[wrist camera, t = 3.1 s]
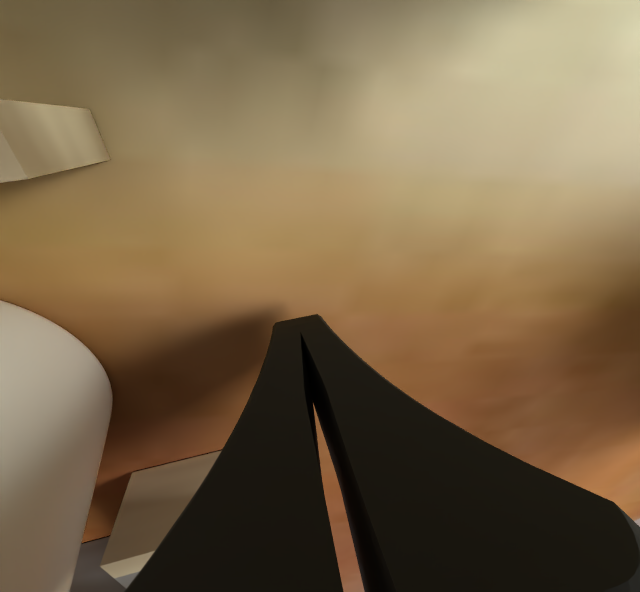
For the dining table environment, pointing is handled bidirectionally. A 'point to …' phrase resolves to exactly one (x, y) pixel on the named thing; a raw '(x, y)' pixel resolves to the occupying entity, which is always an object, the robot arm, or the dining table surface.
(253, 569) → the robot arm
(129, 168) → the dining table surface
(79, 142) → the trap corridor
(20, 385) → the candle
